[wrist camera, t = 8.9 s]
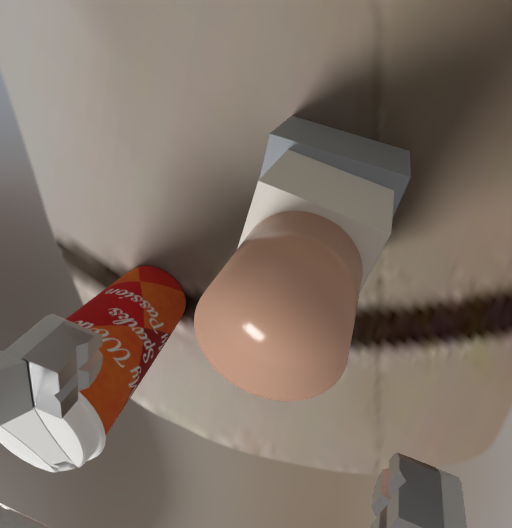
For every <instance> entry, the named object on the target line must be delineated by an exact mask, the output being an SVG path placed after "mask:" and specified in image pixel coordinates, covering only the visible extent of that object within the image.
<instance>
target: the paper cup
mask: <svg viewBox="0 0 512 528" xmlns="http://www.w3.org/2000/svg"><path fill="white" fill-rule="evenodd" d="M185 307H186V298H185V294H184V292H183V289H182V288H181V286H180V284H179V283H178V282H177V281H176V279H175V278H174V277H172V276H171V275H170V274H169V273H167V272H166V271H164V270H162V269H160V268H157V267H154V266H139V267H137V268H134V269H133V270H131V271H130V272H128V273H127V274H125V275H124V276H122V277H121V278H120V279H118V280H117V281H116V282H114V283H113V284H112V285H110V286H109V287H108V288H106V289H105V290H104V291H102V292H101V293H100V294H98V295H97V296H96V297H94V298H93V299H92V300H90V301H89V302H88V303H86V304H85V305H84V306H82V307H81V308H80V309H79V310H77V311H76V312H75V313H73V314H72V315H71V316H69V317H68V318H67V319H66V320H68V321H71V322H73V323H75V324H78V325H80V326H82V327H85V328H87V329H89V330H91V331H94V332H96V333H98V334H101V335H102V337H103V344H102V346H101V347H100V348H99V350H100V352H101V353H102V355H103V362H102V366H101V370H100V372H99V373H98V375H97V377H96V379H95V380H94V382H93V383H92V384H91V385H90V387H89V388H86V389H83V390H81V391H78V401H77V402H76V403H75V404H74V405H73V407H72V408H71V409H70V410H69V411H68V412H67V413H66V415H65V416H64V417H63V418H62V419H60V418H58V417H55V416H53V415H50V414H48V413H45V412H43V411H41V410H38V409H36V408H33V410H31V411H29V412H27V413H25V414H23V415H21V416H19V417H17V418H15V419H13V420H11V421H9V422H7V423H5V424H3V425H1V426H0V443H2V444H3V445H4V446H5V447H6V448H7V449H8V450H10V451H11V452H12V453H14V454H15V455H17V456H18V457H19V458H21V459H23V460H24V461H26V462H28V463H30V464H32V465H34V466H36V467H38V468H41V469H44V470H47V471H50V472H58V471H66V470H71V469H75V466H77V467H81V466H82V465H83V464H84V463H85V462H86V461H88V460H91V459H92V458H95V457H96V456H98V455H99V454H100V453H101V451H102V450H103V448H104V446H105V441H106V434H107V433H108V431H109V430H110V428H111V426H112V425H113V423H114V422H115V420H116V419H117V417H118V416H119V414H120V413H121V411H122V409H123V408H124V406H125V405H126V403H127V401H128V400H129V399H130V397H131V396H132V394H133V393H134V391H135V389H136V388H137V386H138V385H139V383H140V382H141V380H142V379H143V377H144V376H145V374H146V372H147V371H148V369H149V368H150V366H151V365H152V363H153V362H154V360H155V359H156V357H157V355H158V354H159V352H160V351H161V349H162V348H163V346H164V344H165V343H166V341H167V340H168V338H169V337H170V335H171V333H172V332H173V330H174V329H175V327H176V325H177V324H178V322H179V321H180V319H181V317H182V315H183V313H184V311H185Z"/></svg>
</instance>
